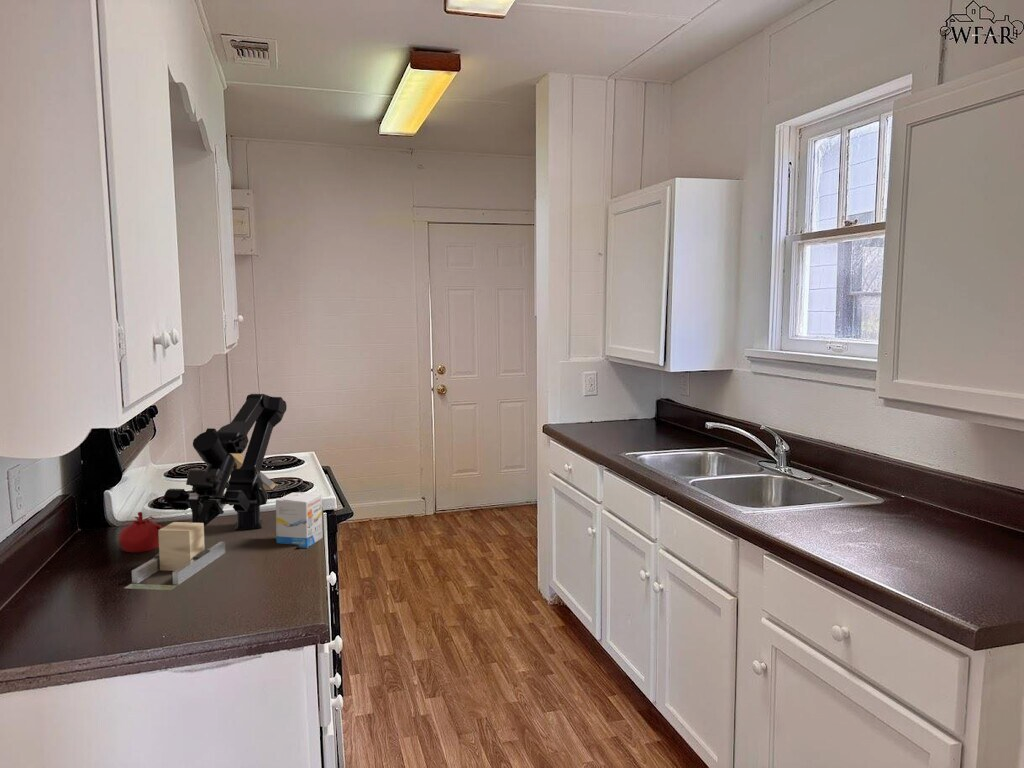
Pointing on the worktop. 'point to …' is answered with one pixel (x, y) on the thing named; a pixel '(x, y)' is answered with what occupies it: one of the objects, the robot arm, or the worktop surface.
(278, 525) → the ink box
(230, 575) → the worktop surface
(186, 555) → the block
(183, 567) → the chute
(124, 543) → the pomegranate
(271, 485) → the sandwich container
